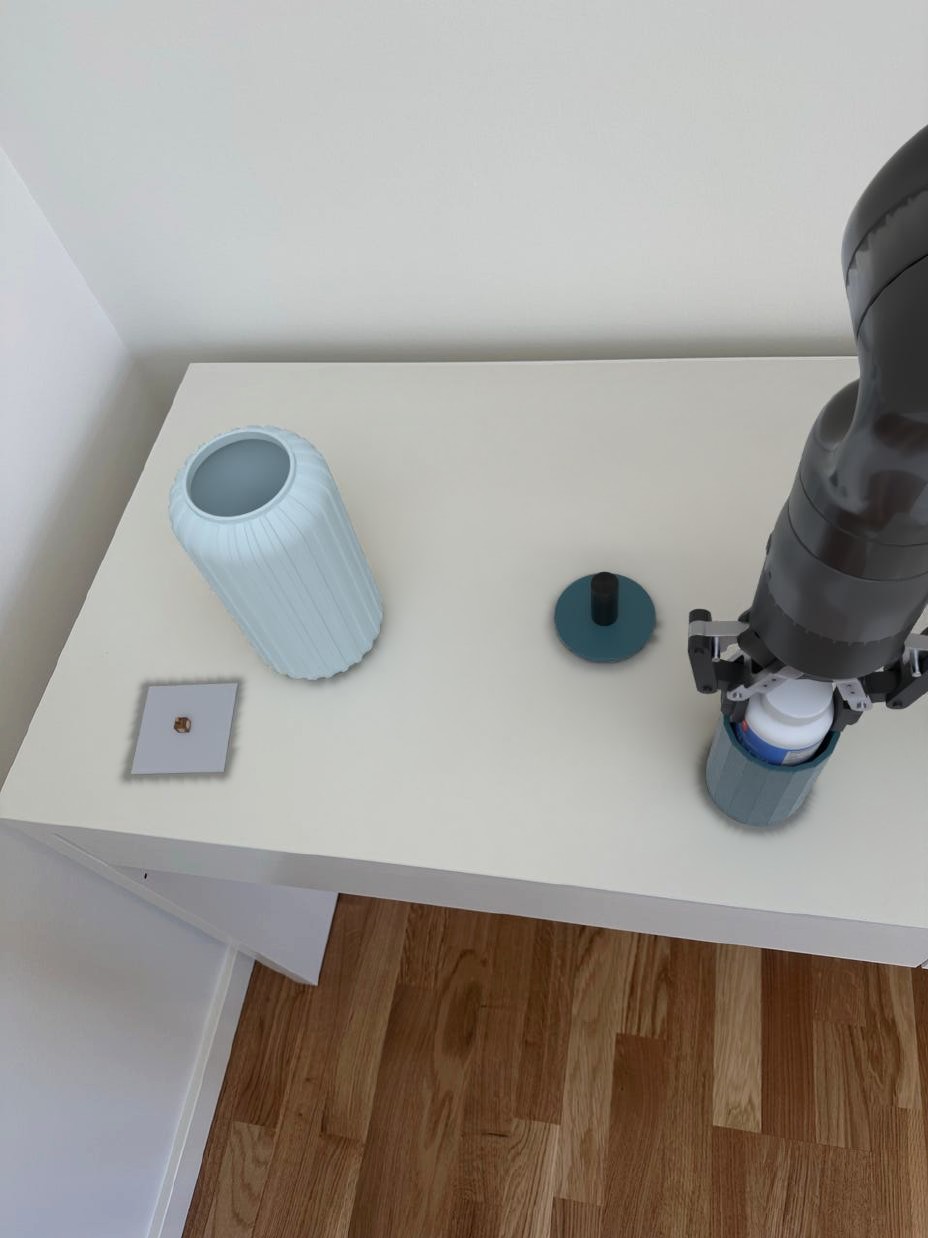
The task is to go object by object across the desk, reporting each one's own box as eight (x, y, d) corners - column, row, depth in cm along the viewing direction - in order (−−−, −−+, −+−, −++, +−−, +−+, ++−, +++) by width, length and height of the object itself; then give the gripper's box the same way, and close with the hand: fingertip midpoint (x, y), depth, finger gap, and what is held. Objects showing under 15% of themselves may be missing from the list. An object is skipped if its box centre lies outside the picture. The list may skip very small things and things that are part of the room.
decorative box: (223, 771, 75) (215, 763, 73) (130, 774, 76) (120, 766, 74) (237, 683, 79) (230, 673, 77) (149, 686, 80) (139, 676, 78)
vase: (321, 717, 76) (227, 575, 57) (234, 641, 81) (120, 486, 62) (416, 622, 79) (357, 458, 60) (327, 555, 84) (246, 382, 65)
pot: (804, 739, 70) (838, 672, 60) (806, 831, 66) (842, 777, 56) (706, 730, 71) (724, 664, 61) (704, 820, 68) (722, 766, 58)
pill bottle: (714, 728, 64) (731, 665, 55) (782, 696, 64) (809, 629, 56) (757, 797, 61) (783, 742, 52) (828, 763, 61) (864, 703, 53)
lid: (657, 583, 78) (661, 542, 73) (651, 670, 74) (656, 633, 69) (560, 577, 80) (557, 536, 74) (549, 662, 76) (546, 625, 70)
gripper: (689, 628, 43) (666, 758, 57) (1024, 651, 40) (911, 781, 55) (694, 498, 46) (671, 652, 61) (1002, 512, 44) (901, 669, 58)
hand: (785, 712), depth 58 cm, fingers closed on pill bottle, 5 cm apart
